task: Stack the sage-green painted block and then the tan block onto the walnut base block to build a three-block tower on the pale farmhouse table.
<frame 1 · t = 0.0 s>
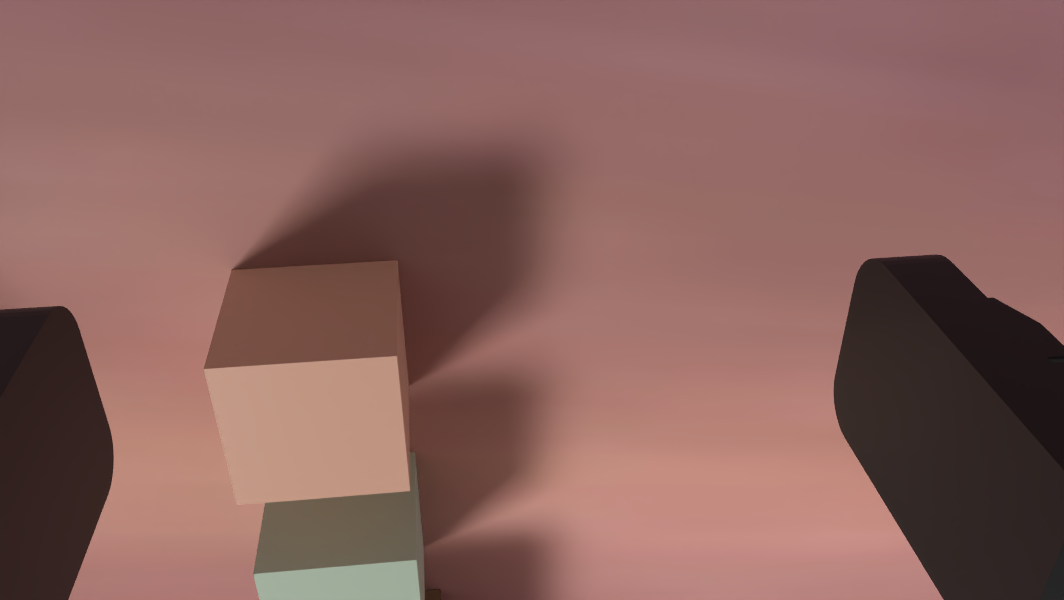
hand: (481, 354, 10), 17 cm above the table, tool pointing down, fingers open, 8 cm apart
tan block: (325, 329, 30), on the table
sage block: (351, 505, 35), on the table
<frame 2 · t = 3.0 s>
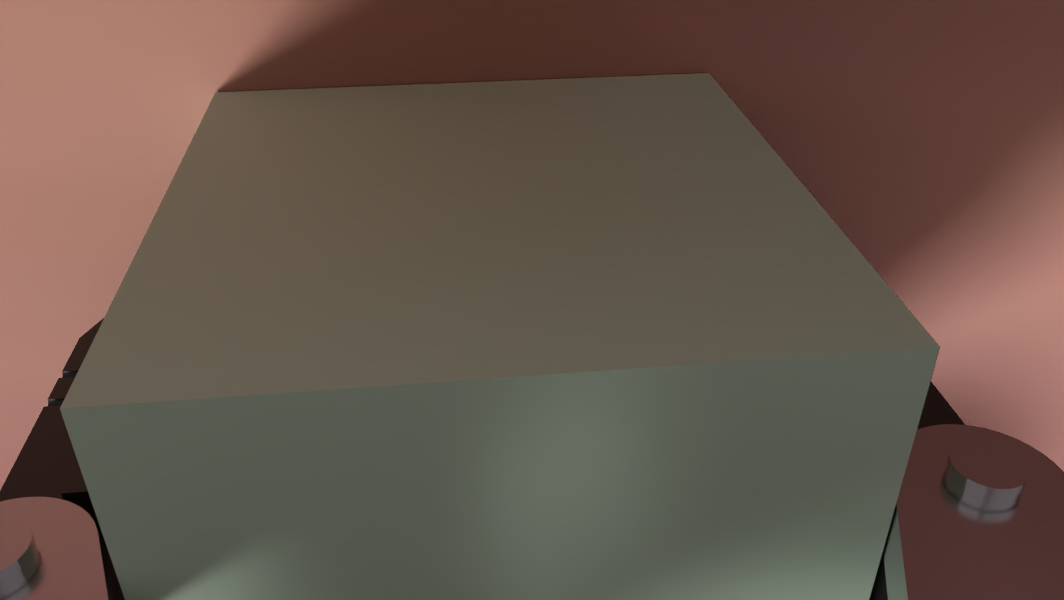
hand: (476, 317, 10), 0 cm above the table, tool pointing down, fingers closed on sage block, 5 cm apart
sage block: (476, 292, 11), on the table, touching gripper
when the fingers open (6 cm above the table, at t = 7.1 s): sage block moves 1 cm, resting on walnut base.
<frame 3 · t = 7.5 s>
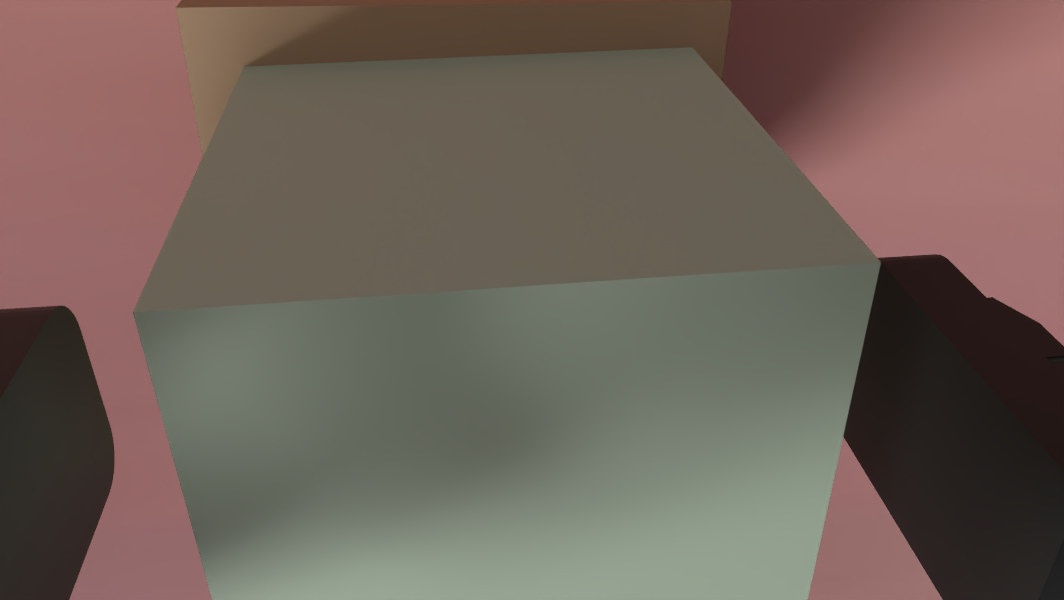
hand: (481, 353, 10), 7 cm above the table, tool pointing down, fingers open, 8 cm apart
walnut base: (450, 107, 16), on the table, touching sage block
sage block: (481, 252, 12), point 5 cm above the table, touching walnut base
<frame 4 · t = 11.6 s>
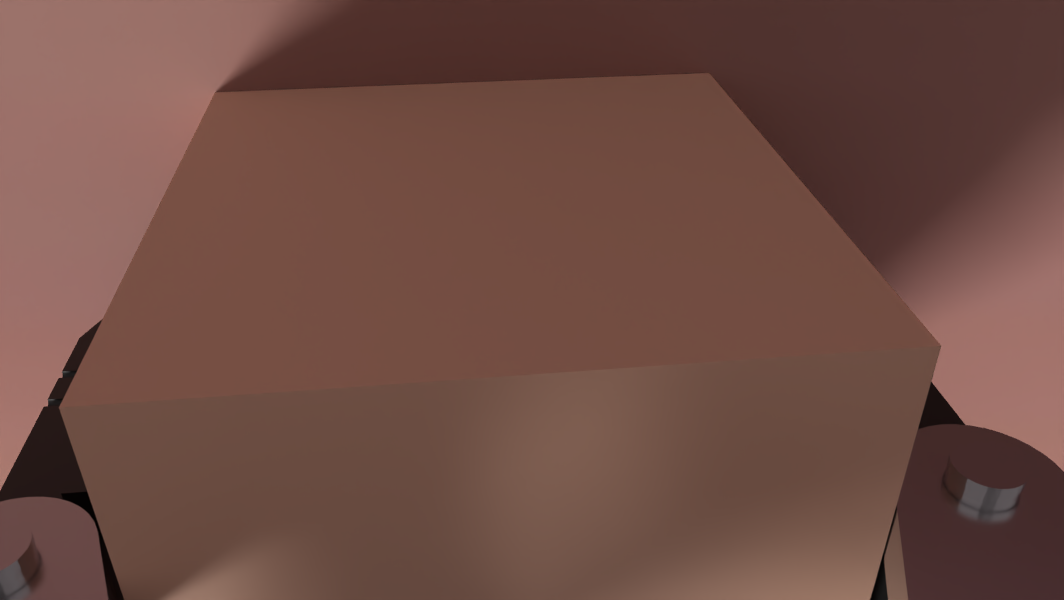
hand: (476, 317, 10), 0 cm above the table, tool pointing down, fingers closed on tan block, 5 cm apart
tan block: (476, 292, 11), on the table, touching gripper
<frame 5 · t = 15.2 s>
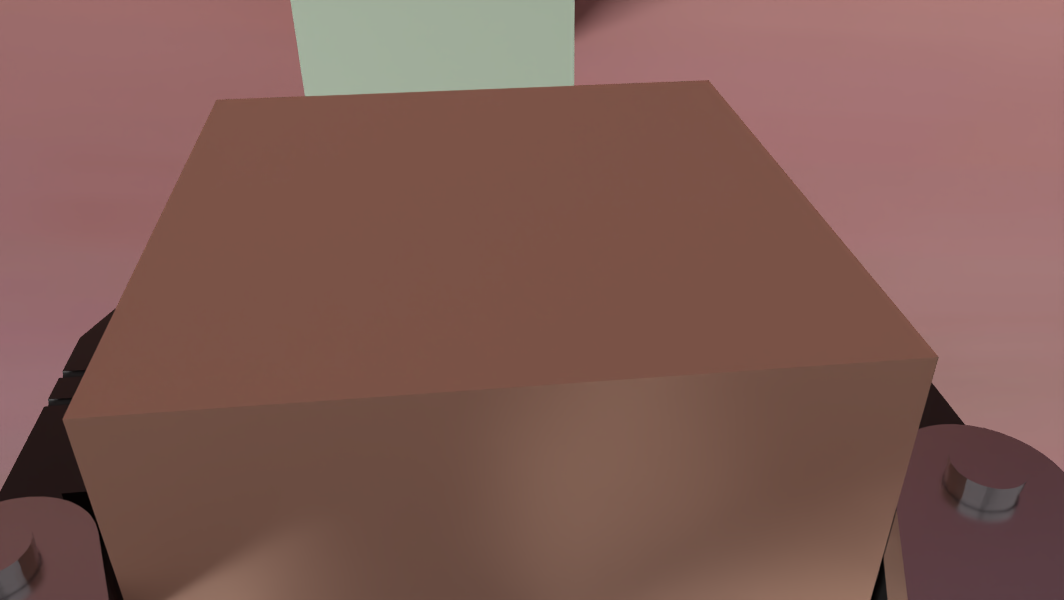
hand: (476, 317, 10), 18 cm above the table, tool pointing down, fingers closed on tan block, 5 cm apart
tan block: (476, 298, 11), point 18 cm above the table, touching gripper
sage block: (432, 5, 22), point 5 cm above the table, touching walnut base
when the fingers open (11 cm above the table, at t = 16.8 s): tan block stays where it is, resting on sage block.
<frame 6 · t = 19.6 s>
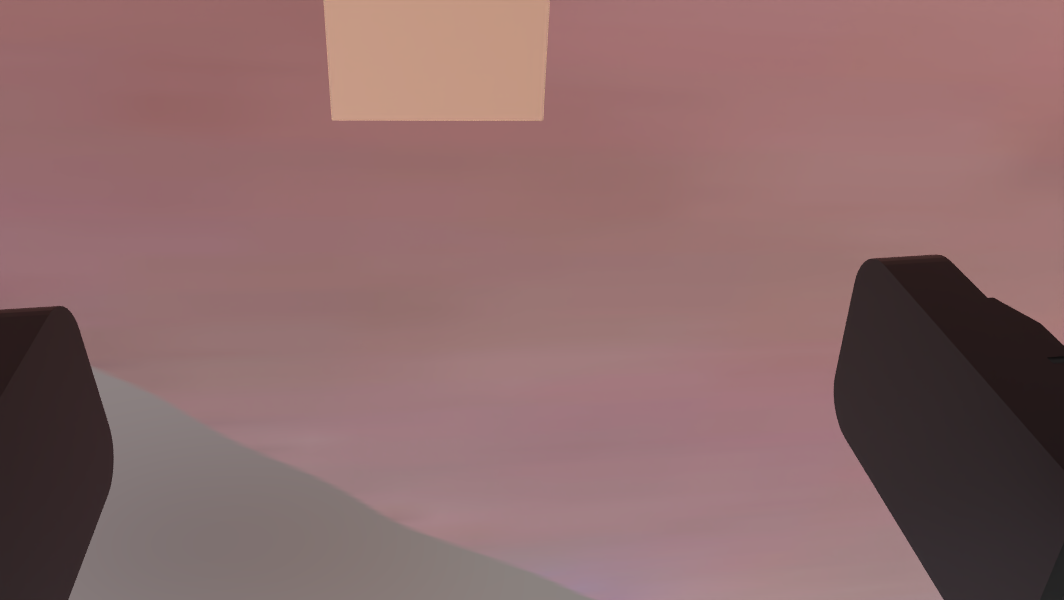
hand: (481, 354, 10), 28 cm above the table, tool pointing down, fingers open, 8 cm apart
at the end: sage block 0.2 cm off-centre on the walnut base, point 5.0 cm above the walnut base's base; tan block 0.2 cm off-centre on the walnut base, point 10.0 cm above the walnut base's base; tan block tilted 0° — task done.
